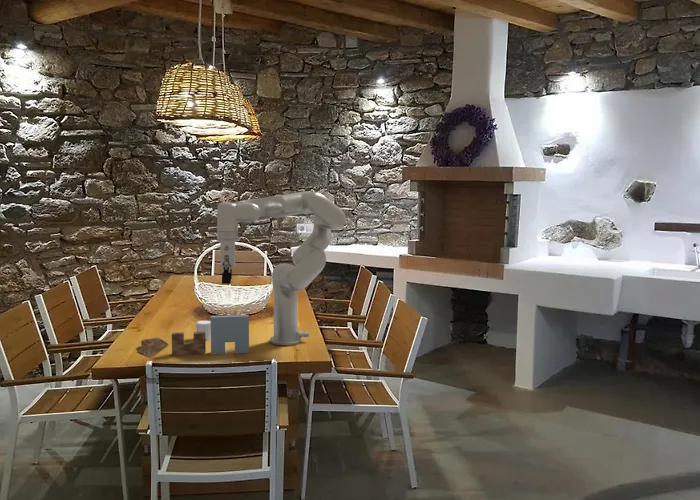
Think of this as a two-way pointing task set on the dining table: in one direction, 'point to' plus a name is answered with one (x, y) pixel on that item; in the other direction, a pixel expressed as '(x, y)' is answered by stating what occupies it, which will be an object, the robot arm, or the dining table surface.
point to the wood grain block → (188, 344)
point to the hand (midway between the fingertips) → (226, 281)
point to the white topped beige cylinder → (204, 328)
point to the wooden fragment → (151, 346)
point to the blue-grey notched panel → (230, 333)
